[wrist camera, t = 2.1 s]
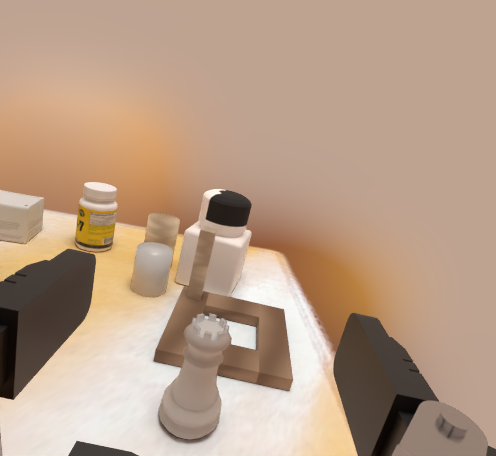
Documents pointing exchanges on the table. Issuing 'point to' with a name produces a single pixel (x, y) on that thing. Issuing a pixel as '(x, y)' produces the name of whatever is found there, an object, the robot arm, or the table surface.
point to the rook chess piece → (196, 381)
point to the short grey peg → (151, 269)
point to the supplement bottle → (96, 217)
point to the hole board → (262, 316)
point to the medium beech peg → (162, 229)
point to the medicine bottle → (219, 241)
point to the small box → (20, 216)
